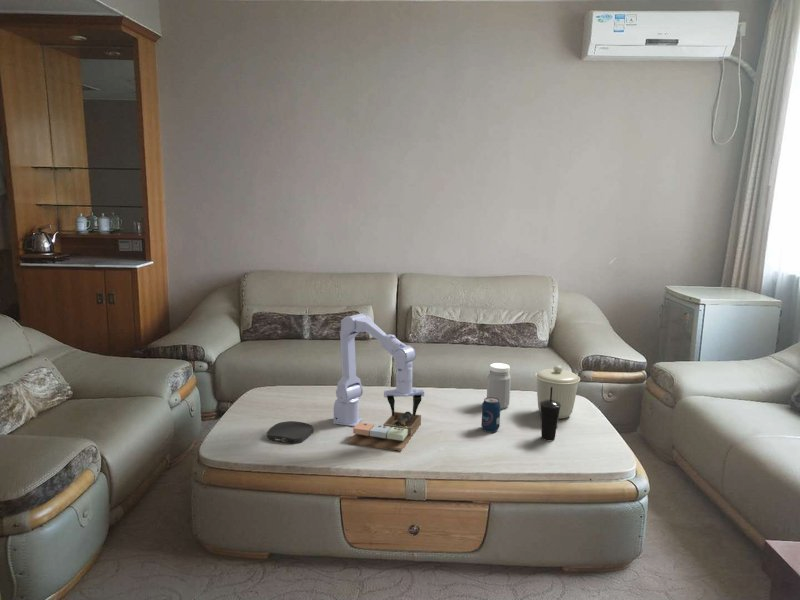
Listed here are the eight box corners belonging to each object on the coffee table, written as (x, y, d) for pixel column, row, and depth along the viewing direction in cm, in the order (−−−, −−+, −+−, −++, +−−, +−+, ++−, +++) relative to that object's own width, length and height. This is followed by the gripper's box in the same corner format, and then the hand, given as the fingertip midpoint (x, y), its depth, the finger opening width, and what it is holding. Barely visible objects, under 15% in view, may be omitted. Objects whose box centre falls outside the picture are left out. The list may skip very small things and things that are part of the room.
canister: (574, 408, 256) (578, 361, 253) (579, 424, 239) (583, 373, 235) (531, 405, 259) (534, 358, 256) (533, 420, 242) (536, 370, 238)
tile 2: (369, 435, 217) (369, 430, 217) (375, 429, 223) (375, 424, 222) (385, 438, 215) (385, 432, 215) (390, 431, 221) (390, 426, 221)
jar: (492, 400, 265) (494, 360, 261) (513, 405, 259) (515, 365, 256) (482, 406, 257) (484, 365, 254) (503, 411, 251) (505, 370, 248)
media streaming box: (316, 430, 229) (316, 423, 228) (299, 446, 215) (299, 438, 214) (281, 426, 233) (281, 418, 232) (263, 440, 219) (263, 433, 218)
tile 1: (353, 433, 219) (353, 427, 219) (359, 427, 225) (359, 421, 224) (368, 435, 217) (368, 430, 217) (374, 429, 223) (374, 424, 223)
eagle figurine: (414, 431, 226) (415, 418, 235) (404, 417, 224) (406, 404, 233) (397, 439, 228) (399, 426, 237) (387, 426, 226) (389, 413, 235)
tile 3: (386, 438, 215) (386, 432, 215) (392, 432, 221) (392, 426, 220) (402, 440, 213) (402, 435, 213) (407, 434, 219) (407, 428, 219)
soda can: (477, 429, 232) (479, 399, 230) (487, 424, 237) (489, 395, 235) (492, 434, 228) (494, 404, 225) (502, 429, 233) (504, 399, 230)
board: (348, 443, 217) (348, 433, 216) (373, 418, 241) (373, 408, 241) (401, 451, 211) (401, 441, 210) (421, 424, 235) (421, 415, 235)
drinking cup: (559, 435, 227) (563, 385, 224) (557, 443, 220) (561, 391, 217) (538, 432, 230) (542, 382, 226) (536, 440, 223) (539, 389, 219)
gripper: (385, 383, 211) (384, 419, 213) (426, 382, 213) (425, 418, 215) (383, 377, 218) (383, 412, 220) (422, 376, 220) (421, 411, 222)
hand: (403, 415), depth 218 cm, fingers open, 7 cm apart
